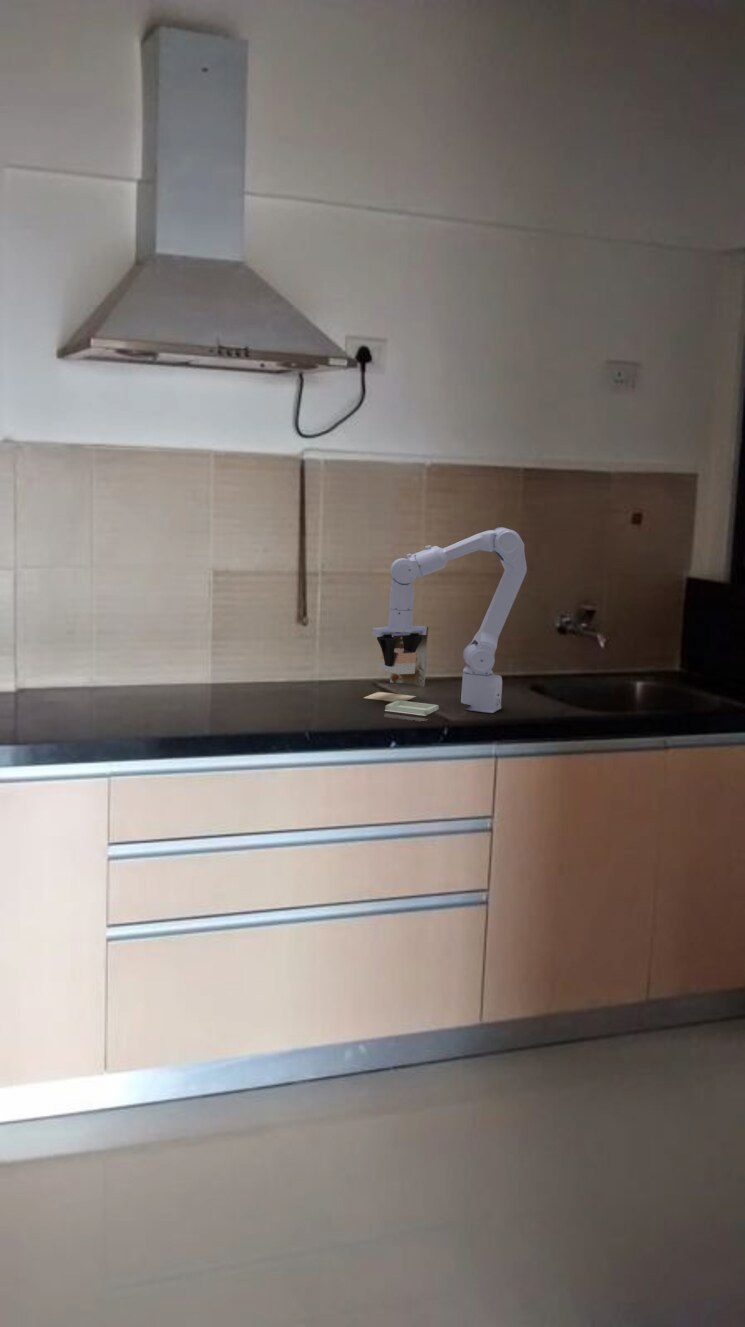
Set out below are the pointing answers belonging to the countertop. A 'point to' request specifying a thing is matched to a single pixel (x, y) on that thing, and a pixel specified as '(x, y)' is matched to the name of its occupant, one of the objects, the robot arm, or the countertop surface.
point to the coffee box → (420, 663)
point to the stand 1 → (389, 696)
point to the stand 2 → (410, 709)
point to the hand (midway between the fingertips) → (398, 665)
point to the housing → (401, 662)
